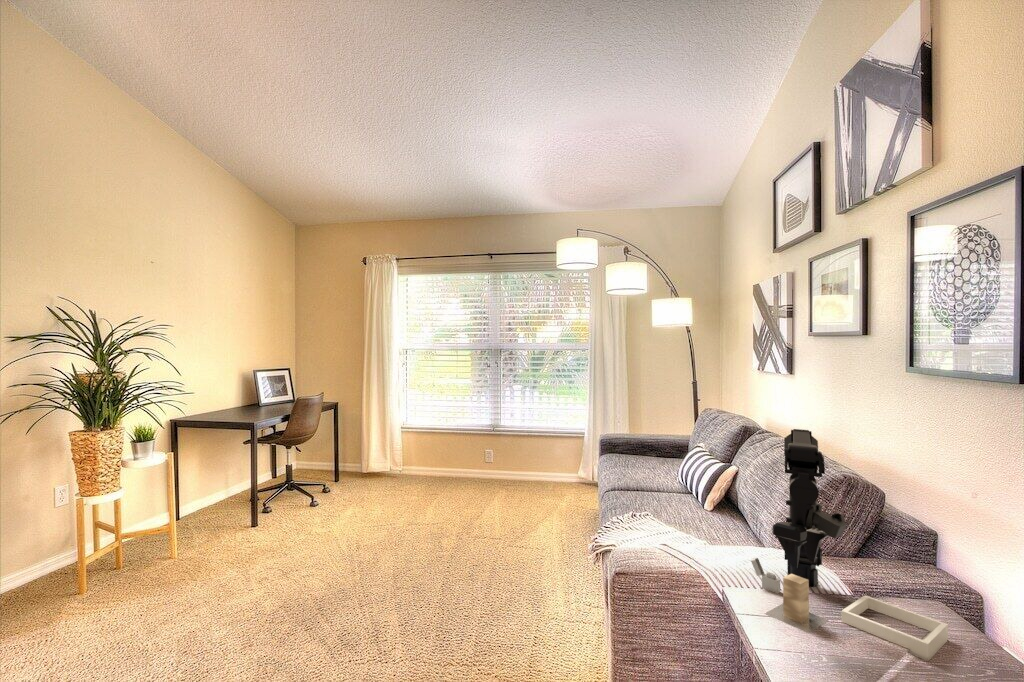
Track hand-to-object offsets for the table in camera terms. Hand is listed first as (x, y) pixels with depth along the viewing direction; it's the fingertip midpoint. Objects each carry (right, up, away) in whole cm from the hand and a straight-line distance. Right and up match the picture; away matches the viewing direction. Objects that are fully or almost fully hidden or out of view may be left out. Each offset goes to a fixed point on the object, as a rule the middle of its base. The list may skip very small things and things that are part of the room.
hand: (803, 564), depth 115 cm
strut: (-1, -13, 0) cm, 13 cm away
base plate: (-2, -14, 0) cm, 14 cm away
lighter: (-1, -15, +15) cm, 21 cm away
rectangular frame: (+19, -14, -4) cm, 24 cm away
